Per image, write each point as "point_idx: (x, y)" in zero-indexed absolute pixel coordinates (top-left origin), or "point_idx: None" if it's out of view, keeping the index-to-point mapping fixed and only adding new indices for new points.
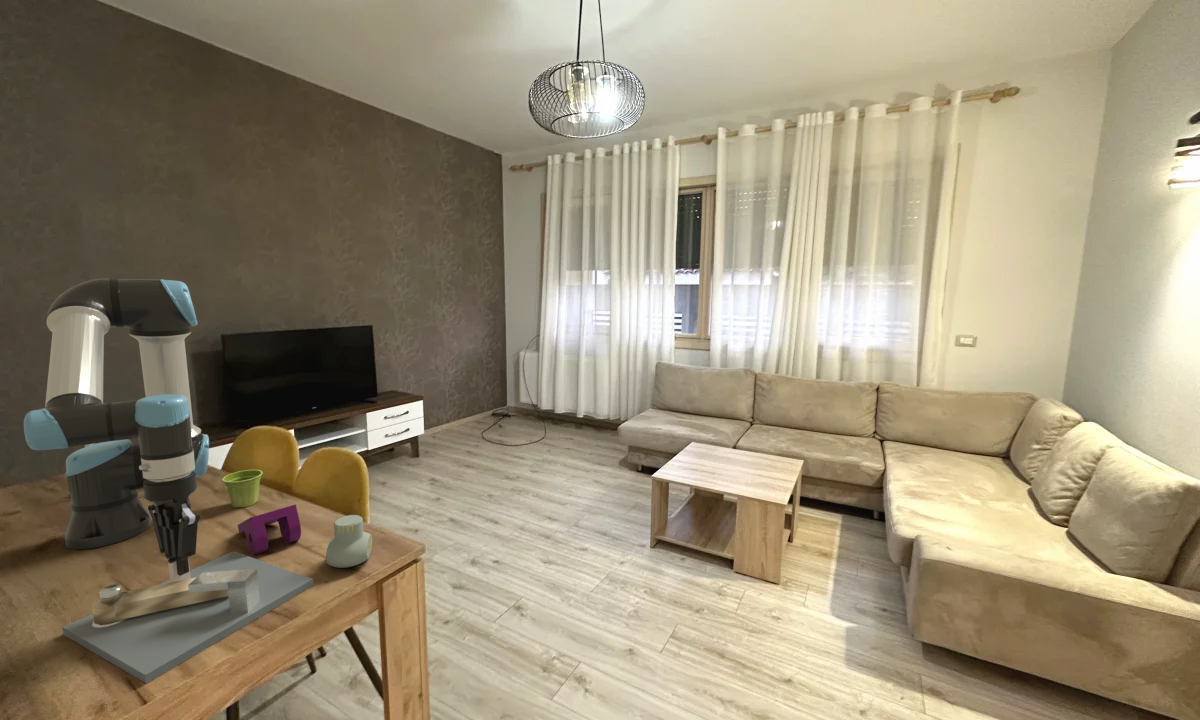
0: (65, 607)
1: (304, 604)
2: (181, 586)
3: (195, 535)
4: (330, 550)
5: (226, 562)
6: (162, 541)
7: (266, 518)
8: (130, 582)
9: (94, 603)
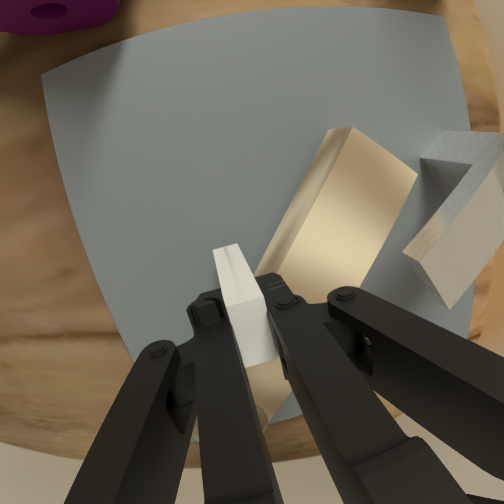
0: (61, 416)
1: (478, 80)
2: (318, 294)
3: (464, 346)
4: None
5: (108, 104)
6: (187, 439)
7: None
8: (14, 325)
9: None
